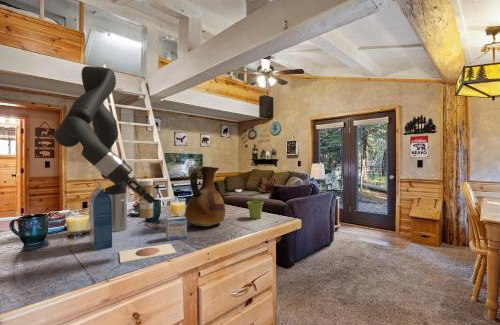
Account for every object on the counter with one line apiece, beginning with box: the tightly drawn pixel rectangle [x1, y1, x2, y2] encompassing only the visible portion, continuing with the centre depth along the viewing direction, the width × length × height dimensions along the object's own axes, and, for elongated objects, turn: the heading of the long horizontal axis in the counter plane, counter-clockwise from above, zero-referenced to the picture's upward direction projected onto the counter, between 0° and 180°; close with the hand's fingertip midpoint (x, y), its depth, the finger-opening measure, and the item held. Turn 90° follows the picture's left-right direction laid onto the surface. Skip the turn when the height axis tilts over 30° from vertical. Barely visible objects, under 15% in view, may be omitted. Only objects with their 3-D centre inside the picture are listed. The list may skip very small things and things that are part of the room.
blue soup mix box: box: [88, 180, 113, 251], centre depth 103 cm, size 6×12×25 cm, turn 37°
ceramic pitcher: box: [184, 165, 226, 227], centre depth 133 cm, size 20×20×30 cm
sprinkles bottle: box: [138, 179, 154, 220], centre depth 93 cm, size 5×5×14 cm
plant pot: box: [246, 200, 265, 220], centre depth 147 cm, size 9×9×9 cm
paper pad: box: [118, 243, 178, 264], centre depth 94 cm, size 11×18×1 cm, turn 118°
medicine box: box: [165, 216, 188, 242], centre depth 111 cm, size 8×4×9 cm, turn 117°
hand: (151, 200), depth 94 cm, fingers closed on sprinkles bottle, 4 cm apart
